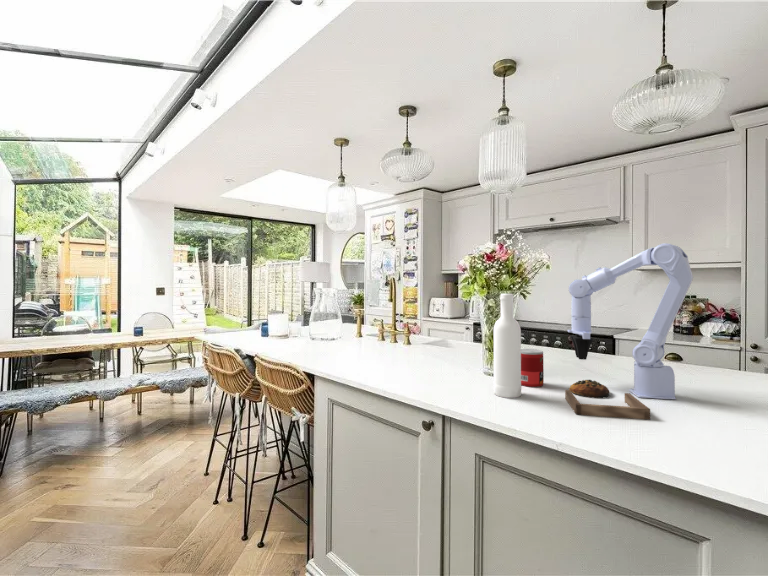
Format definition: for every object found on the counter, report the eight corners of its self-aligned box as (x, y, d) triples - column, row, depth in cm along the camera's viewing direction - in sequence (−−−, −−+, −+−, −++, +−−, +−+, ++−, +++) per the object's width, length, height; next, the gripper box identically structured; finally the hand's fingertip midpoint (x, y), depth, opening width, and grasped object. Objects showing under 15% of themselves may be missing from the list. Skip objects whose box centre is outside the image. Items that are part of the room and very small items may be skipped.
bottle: (496, 398, 115) (496, 294, 114) (490, 390, 123) (490, 293, 122) (525, 398, 114) (524, 294, 114) (517, 390, 122) (516, 293, 122)
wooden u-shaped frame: (629, 402, 110) (629, 393, 110) (650, 419, 96) (650, 409, 96) (565, 398, 114) (565, 389, 114) (576, 414, 100) (576, 404, 100)
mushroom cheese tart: (599, 400, 112) (597, 382, 112) (562, 397, 120) (560, 380, 121) (618, 395, 118) (615, 378, 119) (581, 392, 127) (579, 376, 128)
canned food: (545, 387, 125) (545, 352, 125) (519, 386, 127) (519, 352, 127) (541, 381, 133) (540, 348, 133) (516, 381, 135) (515, 348, 135)
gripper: (563, 314, 137) (563, 354, 137) (572, 318, 123) (572, 362, 123) (585, 315, 136) (586, 354, 136) (597, 318, 121) (597, 363, 122)
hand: (581, 358), depth 129 cm, fingers open, 3 cm apart
